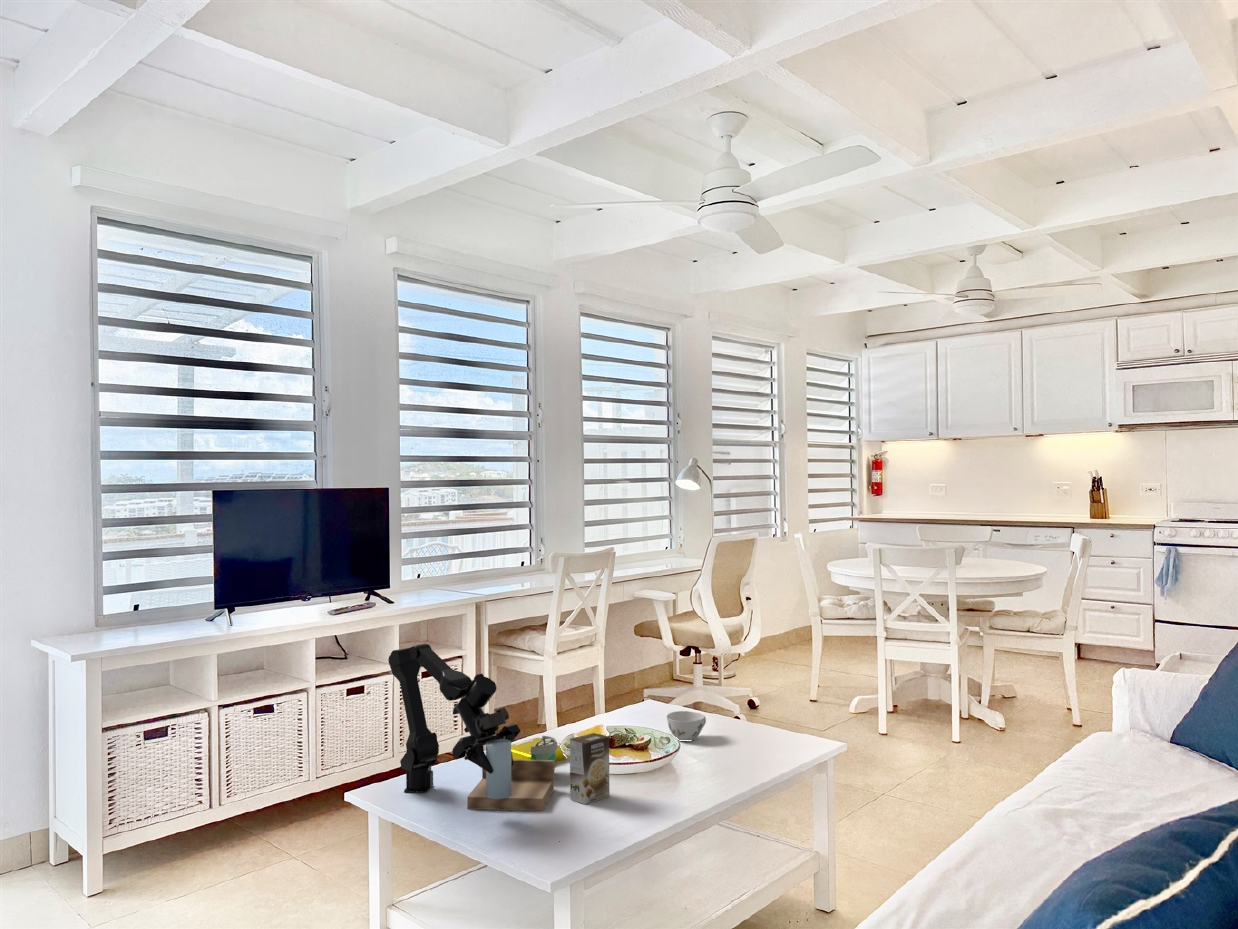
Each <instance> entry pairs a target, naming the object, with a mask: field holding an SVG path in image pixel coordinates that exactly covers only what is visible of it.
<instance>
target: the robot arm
mask: <svg viewBox="0 0 1238 929" xmlns="http://www.w3.org/2000/svg"><path fill="white" fill-rule="evenodd" d="M387 660H388V665H389V667H390V671H391V673H392V675H393V677H394V678H395V679H397V681H398V683H399V685H400V689H401V696H402V700H403V705H404V710H405V716H406V722H407V725H408V726H407V727H408V731H409V734H408V737H407V740H406V743H405V747H406V748H405V749H406V752H405V753H404V755H403V756H402V758H401V759H400V762H399V763H400V767H401V769H402V770H405V772H406V773H405V777H406V778H405V780H406V781H405V786H406V788H405V789H404V790H403V792H404V793H427V792H428V791H429V790H430V789H431V788H432V787H433V786H434V771H433V770H432V766H435V765H437V760H438V756H439V752H440V744H439V742H438V737H437V736H438V735H437V734H436V732H435V731H434V732H432V731H431V730H429V728H428V724H427V719H426V714H425V709H424V704H423V699H422V695H421V690H420V684H419V679H418V675H419V672H420V670H421V667H422V668H423V669H424V670H425V671H426V672H428V673H429V674H430V675H431V677H432V678H434V679H435V680H436V681H437V683H438V684H439V686H438V687H439V692H441V693H442V695H443V697H444V698H445V699H446V700H447V701H449V702H452V701H456V700H458V702H457V703H454V707H453V710H452V715H454V716H455V715H459V716H460V718H461V720H462V721H463V723H464V726H465V727H464V729H463V731H464V732H465V733H469V735H468V736H464V737H460V738H459V739H458V741H457V742H456V743H455V745H454V746H453V747H452V750H451V751H452V756H453V758H454V759H455V761H456V760H459V759H462V758H463V759H464V761H467V760H468V761H469V762H472V763H473V764H475V765H477V766H478V767H479V768H481V769H482V768H483V769H484V770H486V771H487V772H489V773H490V774H491V773H492V772H493V769H492V766H491V764H490V762H489V760H488V758H487V757H486V752H485V749H484V746H486V742H488V741H490V740H495V739H506V740H510V741H511V743H512V742H514V741H515V739H516V738H517V737H518V735H519V734H520V733H521V729H520V727H519V725H518V724H517V723H510V724H506V723H507V722H506V721H507V720H509V718H510V716H509V715H510V714H509V712H508V709H506V707H501V708H499V709H497V710H496V711H495V712H493V713H489V712H486V713H485V712H484V709H483V707H485V706H486V705H487V704H488V703H489V701H490V700H491V698H492V697H493V696H494V695H495V693H496V691H497V685H496V682H495V681H493V679H491V678H489V677H487V676H484V674H483V673H478V674H475V676H474V677H473V679H472V678H470V676H468V675H467V674H465V673H464V672H462V671H459V670H455V669H453V668H452V667H451V666H449V665H448V663H447V662H445V660H443V659H442V658H441V657H440V656H439V655H438V654H437V653H436V652H435V651H434V650H433V649H432V647H431V645H430V644H428V643H420V644H415V645H413V646H410V647H406V648H400V649H395V650H394V649H393V650H392V651H391V653H390V655H389V656H388V659H387ZM505 724H506V725H505ZM500 725H504V726H503V727H502V728H501V729H500V727H499V726H500ZM499 729H500V730H499ZM498 730H499V732H498ZM496 732H497V733H496ZM513 765H514V763H513V756H512V750H511V767H512V766H513Z"/></svg>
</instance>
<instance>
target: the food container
mask: <svg viewBox="0 0 1238 929" xmlns="http://www.w3.org/2000/svg"><path fill="white" fill-rule="evenodd" d="M541 738H542V740H541V741H540V742H538V743H537V744H536V746H535V747H531V760H554V771H555V768H556V763H555V752H556V750H557V749H558V745H557V743H558V741H557V739H556V738H555V737H553V736H550V735H549V736H547V735H542V736H541Z"/></svg>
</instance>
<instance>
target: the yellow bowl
mask: <svg viewBox="0 0 1238 929" xmlns="http://www.w3.org/2000/svg"><path fill="white" fill-rule="evenodd" d="M541 740H542V737H535V738H531V739H528V740H524V741H520V742H516V743H512V744H511V750H512V756H513V759H516V760H531V747H535V746H536V744H537V743H538V742H540V741H541ZM561 744H562V743H560V742H557V745H558V749H557V750H556V752H555V764H556V763H559V762H562V761H566V760H567V759H566V757H565V756H564V755H563V753H562V751H561V748H560V745H561Z"/></svg>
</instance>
